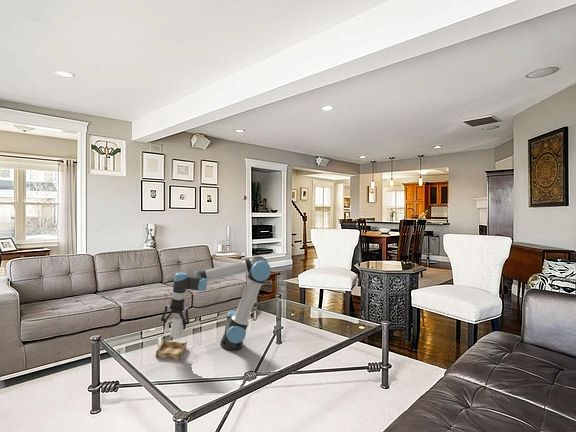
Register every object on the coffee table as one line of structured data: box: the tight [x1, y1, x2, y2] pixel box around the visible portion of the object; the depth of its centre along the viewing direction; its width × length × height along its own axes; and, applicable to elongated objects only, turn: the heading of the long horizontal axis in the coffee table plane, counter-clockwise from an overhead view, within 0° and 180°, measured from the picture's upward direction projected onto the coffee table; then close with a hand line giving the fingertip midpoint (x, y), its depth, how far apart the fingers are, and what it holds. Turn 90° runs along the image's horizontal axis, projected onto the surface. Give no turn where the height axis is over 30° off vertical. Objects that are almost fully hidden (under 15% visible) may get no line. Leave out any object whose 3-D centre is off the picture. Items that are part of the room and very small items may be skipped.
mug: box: [166, 314, 183, 339], centre depth 211 cm, size 10×7×12 cm, turn 114°
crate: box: [155, 339, 188, 361], centre depth 212 cm, size 14×14×4 cm
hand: (173, 333), depth 211 cm, fingers closed on mug, 9 cm apart
